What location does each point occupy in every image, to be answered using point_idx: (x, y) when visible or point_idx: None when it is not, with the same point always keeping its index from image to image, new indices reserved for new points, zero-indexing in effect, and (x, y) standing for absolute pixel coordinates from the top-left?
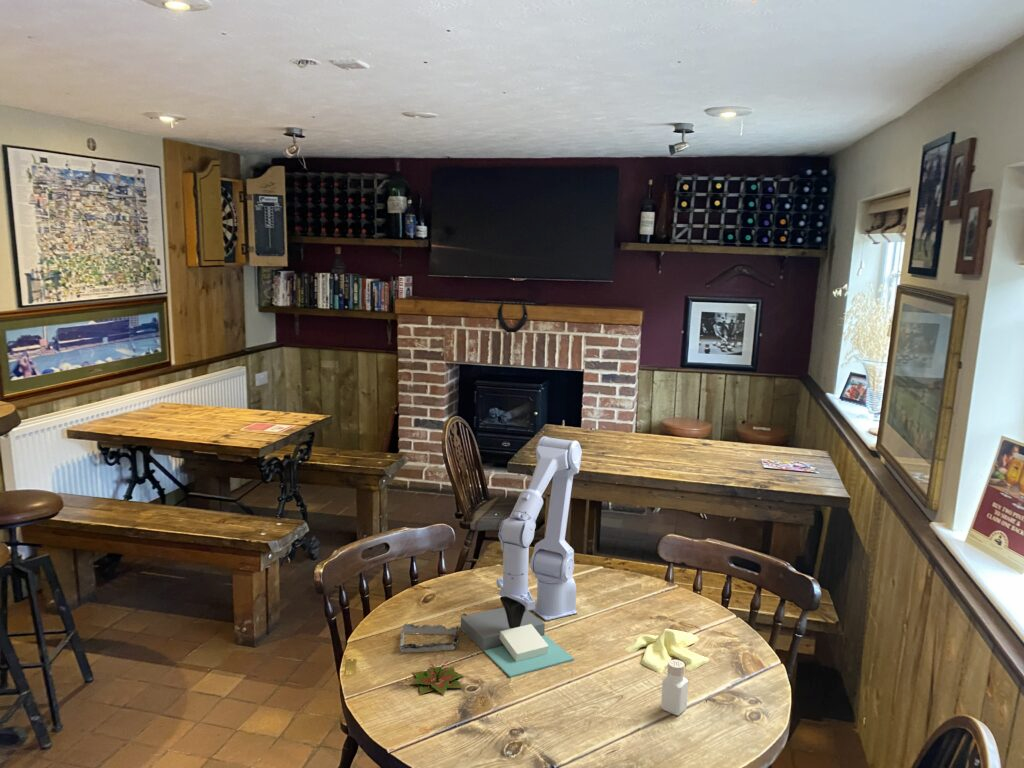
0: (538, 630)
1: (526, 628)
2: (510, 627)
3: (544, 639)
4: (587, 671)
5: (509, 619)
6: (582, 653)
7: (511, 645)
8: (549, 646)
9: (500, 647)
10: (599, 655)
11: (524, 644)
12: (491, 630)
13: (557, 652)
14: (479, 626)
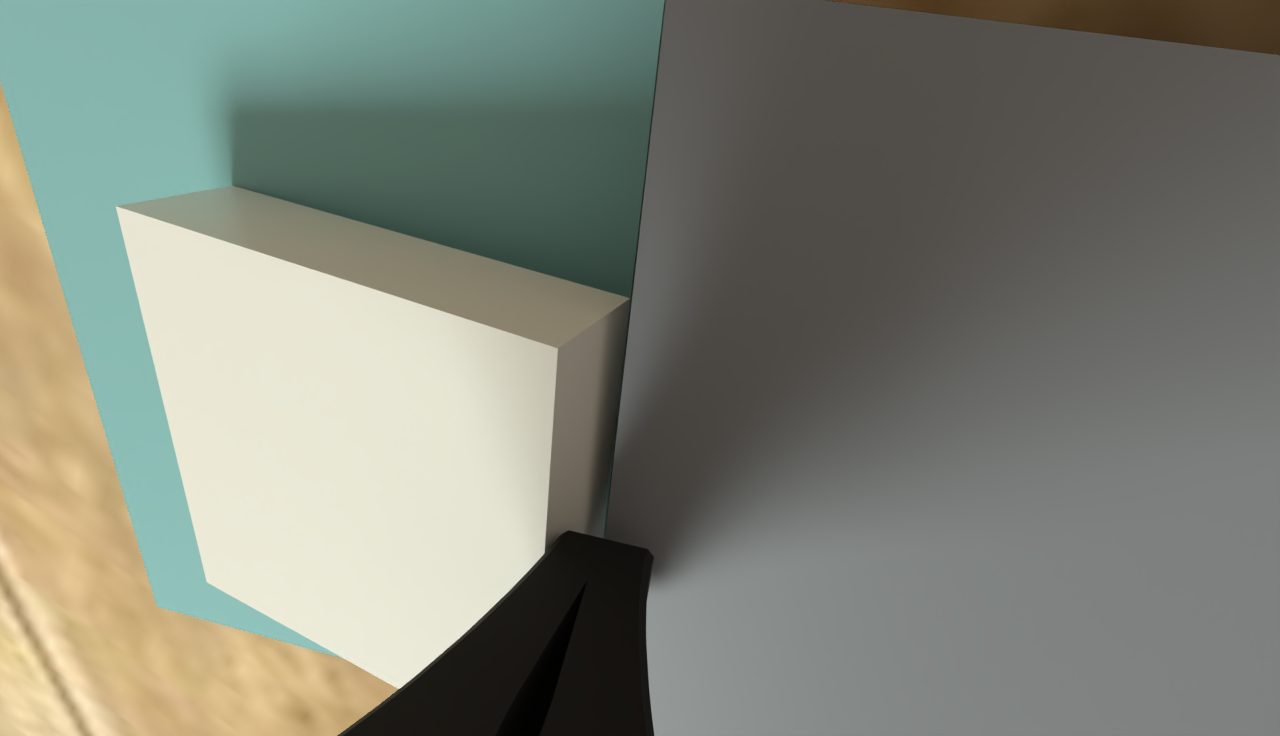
0: None
1: None
2: (595, 546)
3: None
4: (10, 549)
5: (534, 642)
6: (242, 690)
7: (252, 257)
8: None
9: (611, 248)
10: (188, 730)
11: (245, 414)
12: (838, 316)
13: None
14: (1158, 231)
